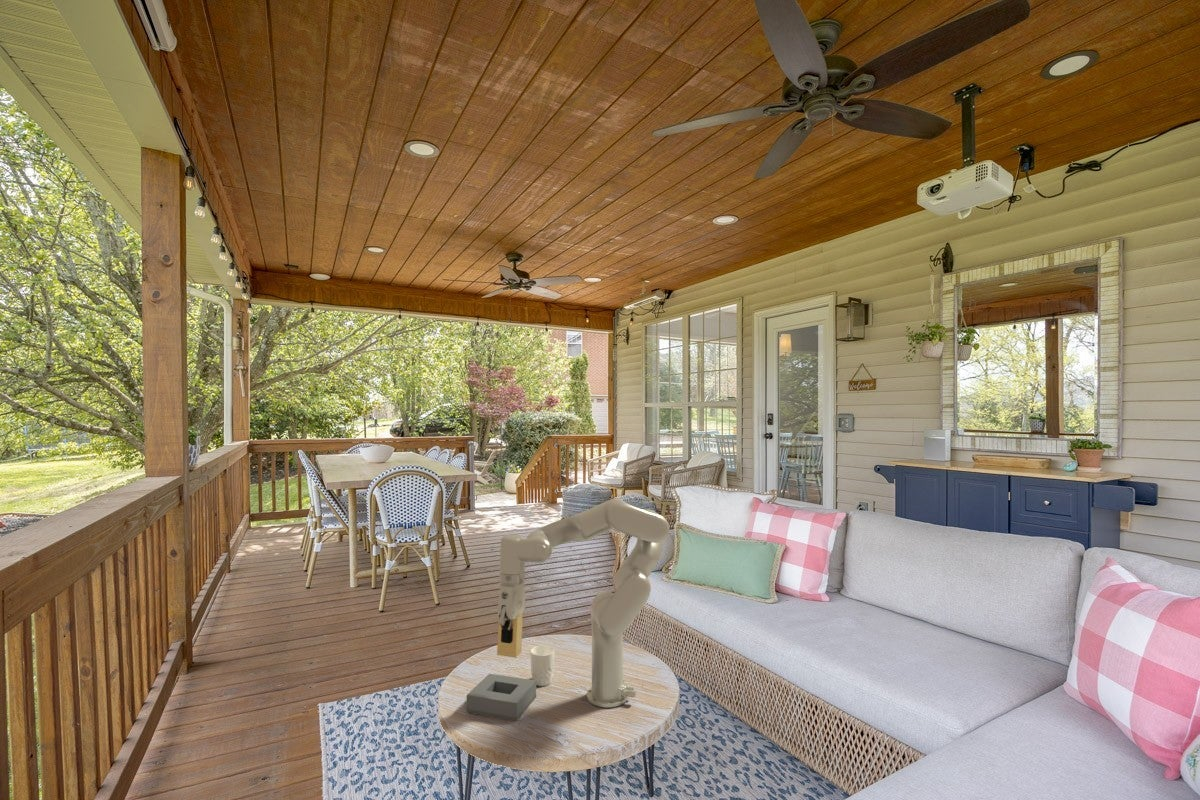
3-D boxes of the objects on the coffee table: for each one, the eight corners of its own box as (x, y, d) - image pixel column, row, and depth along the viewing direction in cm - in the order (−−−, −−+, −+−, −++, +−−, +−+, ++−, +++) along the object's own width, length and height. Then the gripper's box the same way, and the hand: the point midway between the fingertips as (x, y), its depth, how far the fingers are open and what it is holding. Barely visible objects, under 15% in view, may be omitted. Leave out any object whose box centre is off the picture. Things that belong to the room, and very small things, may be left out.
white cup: (527, 678, 181) (527, 647, 182) (550, 674, 185) (550, 643, 185) (534, 689, 174) (534, 657, 175) (557, 684, 177) (558, 653, 178)
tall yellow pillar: (521, 652, 165) (522, 611, 166) (515, 657, 161) (517, 616, 162) (502, 649, 167) (504, 609, 167) (497, 654, 163) (498, 613, 163)
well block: (536, 697, 169) (536, 680, 169) (516, 721, 156) (516, 703, 156) (489, 689, 174) (489, 673, 174) (466, 712, 160) (466, 694, 160)
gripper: (511, 586, 156) (509, 652, 155) (534, 571, 172) (532, 631, 171) (487, 583, 158) (485, 648, 157) (512, 569, 174) (509, 628, 173)
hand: (509, 638), depth 164 cm, fingers closed on tall yellow pillar, 4 cm apart
